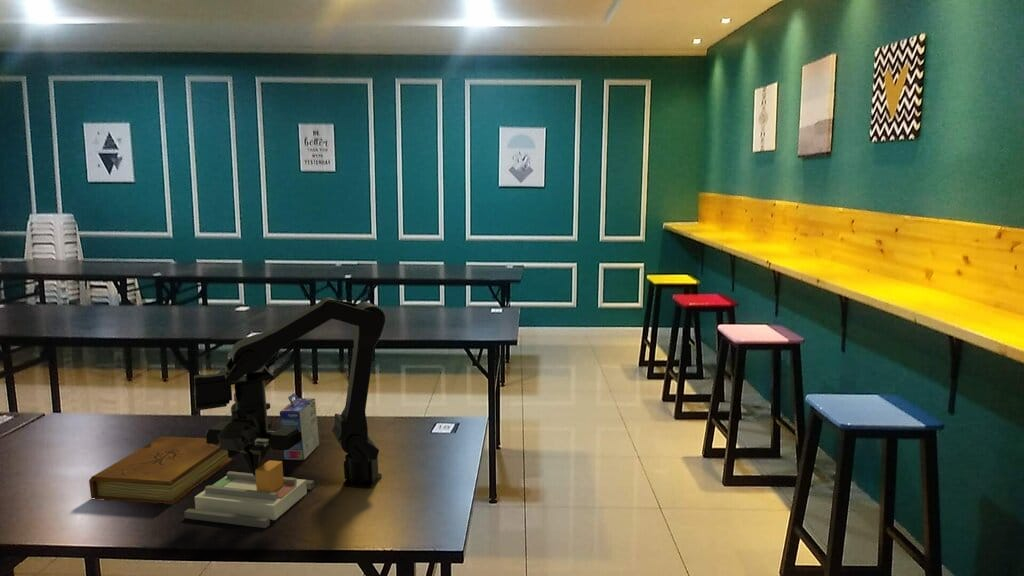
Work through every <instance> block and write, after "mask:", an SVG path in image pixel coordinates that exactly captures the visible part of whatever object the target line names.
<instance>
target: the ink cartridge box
mask: <svg viewBox="0 0 1024 576" xmlns="http://www.w3.org/2000/svg"><path fill="white" fill-rule="evenodd" d="M293 399H294V400H293ZM288 401H289V402H290V403H288V404H287V405H286V406H285V407H284V408H282V409H281V410H279V418H280V419H279V420H280V428H282V427H292V428H298V429H299V430H300V431H301V436H302V441H300V442H299V443H297V444H296V445H294V446H293V447H291V448H290V449H289V450H285V451H283V457H284V460H290V461H292V460H293V461H304V460H306V459H307V458H308V457H309V455H310V454H312V452H313V451H314V450H316V448H317V447H318V446H319V445H320V441H319V429H318V417H317V406H316V399H315V398H305V397H304V398H303V397H302V398H300V397H298V395H297V394H296V393H295V392H293V393H292V394H291V395H289V396H288Z"/></svg>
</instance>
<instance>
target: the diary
mask: <svg viewBox="0 0 1024 576" xmlns="http://www.w3.org/2000/svg"><path fill="white" fill-rule="evenodd" d="M232 461H233V457H229V450H222V447H221V445H220V444H207V443H206V437H203V438H202V437H183V436H166V435H165V436H164V435H161V436H160V437H158V438H156V439H154V440H153V441H150V443H147V444H146V445H144V446H142V447H141V448H139V449H137V450H136V451H134V452H132V453H130V454H129V455H127V456H125V457H123V458H122V459H120V460H118V461H117V462H115V463H113V464H111V465H110V466H108V467H106V468H104V469H103V470H101V471H99V472H98V473H96V474H94V475H93V476H91V477H90V479H89V481H88V483H89V492H90V498H91V499H92V498H95V499H104V500H103V501H110V500H119V501H118V502H125V501H132V502H131V503H141V502H151V503H150V504H157V503H164V504H163V505H174V504H176V503H177V502H178V501H179V500H181V499H182V498H183V497H185V496H187V493H188V492H189V493H191V492H192V491H193V490H194V489H195V487H196V486H197V487H198V486H200V485H201V484H202V483H203V481H204V482H205V481H206V480H208V479H209V478H210V477H212V476H213V475H215V474H216V473H218V471H220V470H221V469H222V468H224V467H225V466H227V465H228V464H230V462H232ZM199 484H200V485H199ZM197 487H196V488H197ZM193 488H194V489H193ZM192 489H193V490H192ZM191 490H192V491H191ZM189 493H188V494H189ZM180 498H181V499H180ZM134 501H135V502H134Z"/></svg>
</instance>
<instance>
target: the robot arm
mask: <svg viewBox="0 0 1024 576" xmlns="http://www.w3.org/2000/svg"><path fill="white" fill-rule="evenodd" d="M330 320H336V321H339V322H343V323H345V324H346V323H347V324H349V325H351V333H352V339H353V340H352V341H353V349H352V357H351V361H350V362H351V363H350V371H349V377H348V383H347V385H348V386H347V393H346V399H345V406H344V408H343V410H342V412H341V413H335V414H334V425H333V428H332V429H331V432H332V433H333V434H334V437H335V440H336V442H337V443H338V445H339V446H340V447H341V449H342V450H343V452H345V453H346V454H345V456H344V458H345V460H344V461H343V474H344V475H343V476H344V477H343V478H344V479H345V480H344V481H343V483H342V485H343V486H345V487H356V488H365V489H370V488H371V487H372V486H374V485H375V484H376V483H377V482H378V481H379V479H381V478H382V473H379V458H378V456H379V451H380V450H379V448H378V447H377V446H376V444H375V443H374V441H372V439H371V438H370V437H369V432H368V431H369V426H368V421H367V415H366V410H367V409H366V408H367V402H368V401H367V400H368V396H369V394H368V393H369V388H370V387H369V386H370V379H371V373H372V366H373V359H374V358H373V357H374V351H375V347H376V346H377V344H378V342H379V340H380V338H381V337H382V332H383V330H384V327H385V324H386V315H385V313H384V311H383V310H382V309H381V308H379V307H378V306H376V305H375V304H373V303H371V302H367V301H363V302H359V303H354V302H350V301H345V300H339V299H334V298H333V297H330V296H329V297H324V298H322V299H321V300H320V301H318V302H317V303H315V304H314V305H312V306H310V307H308V308H307V309H305V310H303V311H302V312H300V313H297V314H296V315H294V316H293V317H290V319H288V320H285V321H284V322H281V324H278V325H277V326H275V327H273V328H272V329H269V330H267V331H265V332H260V333H256V334H253V335H250V336H248V337H244V338H243V339H240V340H238V341H237V342H235V343H234V344H233V345H232V347H231V352H230V358H229V360H228V361H227V363H226V364H225V366H223V368H222V369H221V370H222V372H220V373H219V372H218V373H211V374H197V375H193V380H194V389H193V395H194V402H195V404H194V405H195V411H197V412H198V411H204V410H213V409H218V408H225V407H227V405H228V404H230V401H231V402H232V401H233V390H232V386H234V393H235V399H236V409H235V410H233V411H232V416H231V420H230V422H229V421H221V422H219V423H217V424H215V425H214V426H212V427H210V428H208V429H207V431H206V433H205V438H206V443H207V444H220V445H221V447H222V450H228V451H233V452H240V453H241V455H242V456H243V459H245V462H246V463H247V466H248V467H249V469H250V471H251V474H253V475H254V476H256V474H255V470H256V469H257V468H259V467H260V466H262V465H263V464H265V463H266V462H265V461H266V459H267V456H268V454H269V452H270V450H275V451H283V452H284V451H285V450H289V449H290V448H291V447H293V446H294V445H296V444H297V443H299V442H300V441H302V436H301V431H300V430H299V429H298V428H292V427H282V428H281V427H280V428H278V429H277V430H276V431H275V430H274V431H273V430H269V429H271V428H273V427H272V426H273V425H272V421H271V422H268V410H270V409H271V403H269V402H267V399H266V398H267V397H266V385H265V381H271V380H275V375H274V373H273V372H272V371H271V370H269V369H268V368H267V367H266V366H265V365H266V364H267V363H268V362H270V361H271V360H272V359H273V357H275V355H276V354H277V353H278V352H280V351H281V350H282V349H283V348H285V347H286V346H288V345H289V344H291V343H293V342H295V341H296V340H298V339H299V338H301V337H303V336H305V335H306V334H308V333H310V332H312V331H314V330H315V329H317V328H319V327H320V326H322V325H323V324H326V323H327V322H329V321H330Z"/></svg>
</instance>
